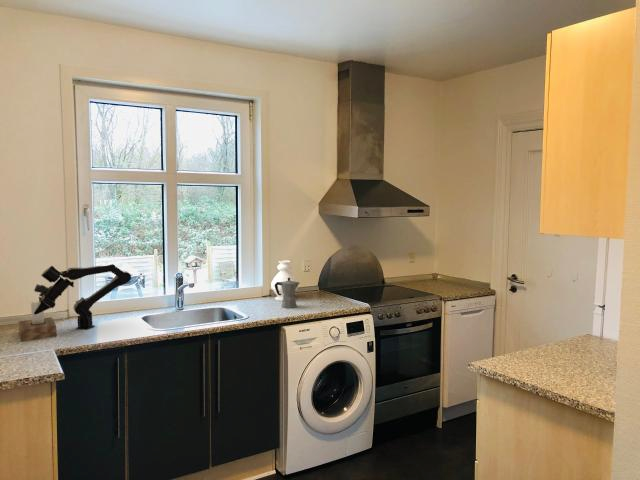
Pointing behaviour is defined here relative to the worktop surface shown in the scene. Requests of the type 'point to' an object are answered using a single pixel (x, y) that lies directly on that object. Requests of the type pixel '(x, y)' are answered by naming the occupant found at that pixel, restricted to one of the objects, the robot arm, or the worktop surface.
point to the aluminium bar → (38, 317)
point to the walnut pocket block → (37, 329)
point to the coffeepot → (288, 293)
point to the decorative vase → (282, 277)
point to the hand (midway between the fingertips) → (34, 313)
